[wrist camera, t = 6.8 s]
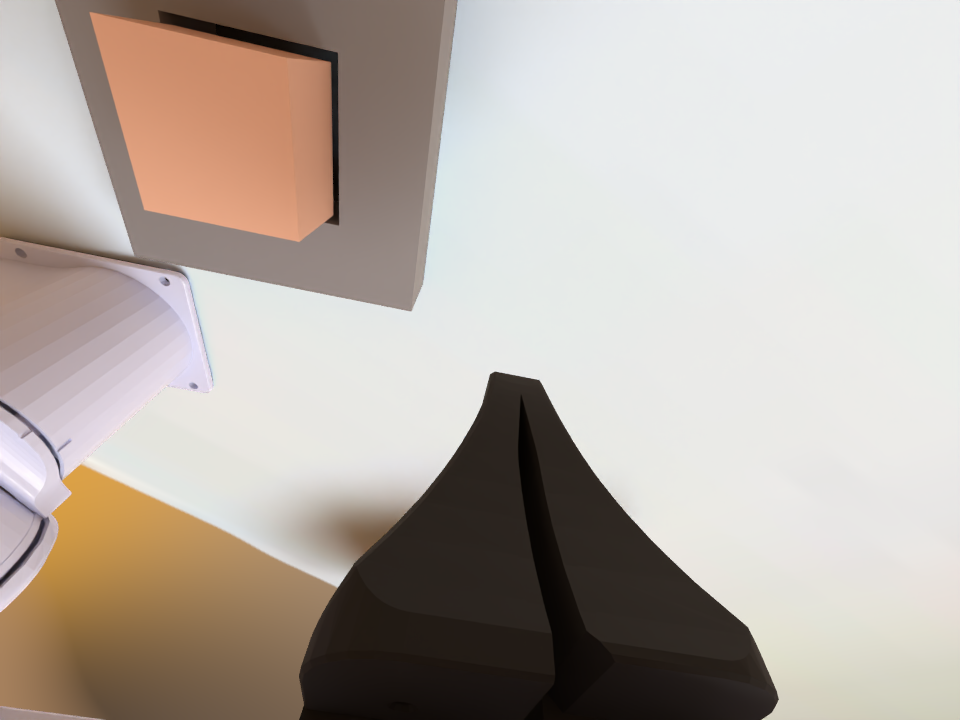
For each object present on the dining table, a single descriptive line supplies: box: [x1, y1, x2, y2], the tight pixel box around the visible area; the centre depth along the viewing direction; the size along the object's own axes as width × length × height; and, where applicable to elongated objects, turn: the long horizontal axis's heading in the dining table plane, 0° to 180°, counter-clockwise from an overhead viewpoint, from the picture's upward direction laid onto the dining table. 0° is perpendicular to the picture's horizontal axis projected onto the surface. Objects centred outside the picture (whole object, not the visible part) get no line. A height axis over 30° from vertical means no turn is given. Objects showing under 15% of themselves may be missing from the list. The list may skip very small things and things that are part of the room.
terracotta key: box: [89, 12, 333, 242], centre depth 13 cm, size 5×5×3 cm
